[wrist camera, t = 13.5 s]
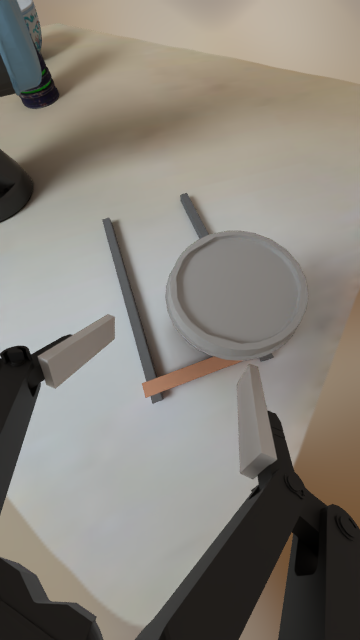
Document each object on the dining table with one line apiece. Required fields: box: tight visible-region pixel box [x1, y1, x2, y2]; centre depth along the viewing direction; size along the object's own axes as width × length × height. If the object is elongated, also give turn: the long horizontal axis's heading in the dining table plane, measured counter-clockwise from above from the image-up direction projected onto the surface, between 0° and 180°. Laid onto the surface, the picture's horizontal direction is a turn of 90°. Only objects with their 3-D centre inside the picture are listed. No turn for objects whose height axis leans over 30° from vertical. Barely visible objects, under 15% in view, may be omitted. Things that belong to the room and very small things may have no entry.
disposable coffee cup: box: [165, 231, 308, 360], centre depth 16 cm, size 10×10×12 cm
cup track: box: [103, 193, 273, 404], centre depth 23 cm, size 30×15×3 cm, turn 20°
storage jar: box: [19, 35, 59, 109], centre depth 35 cm, size 10×10×15 cm
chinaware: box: [17, 0, 42, 56], centre depth 46 cm, size 15×15×8 cm
